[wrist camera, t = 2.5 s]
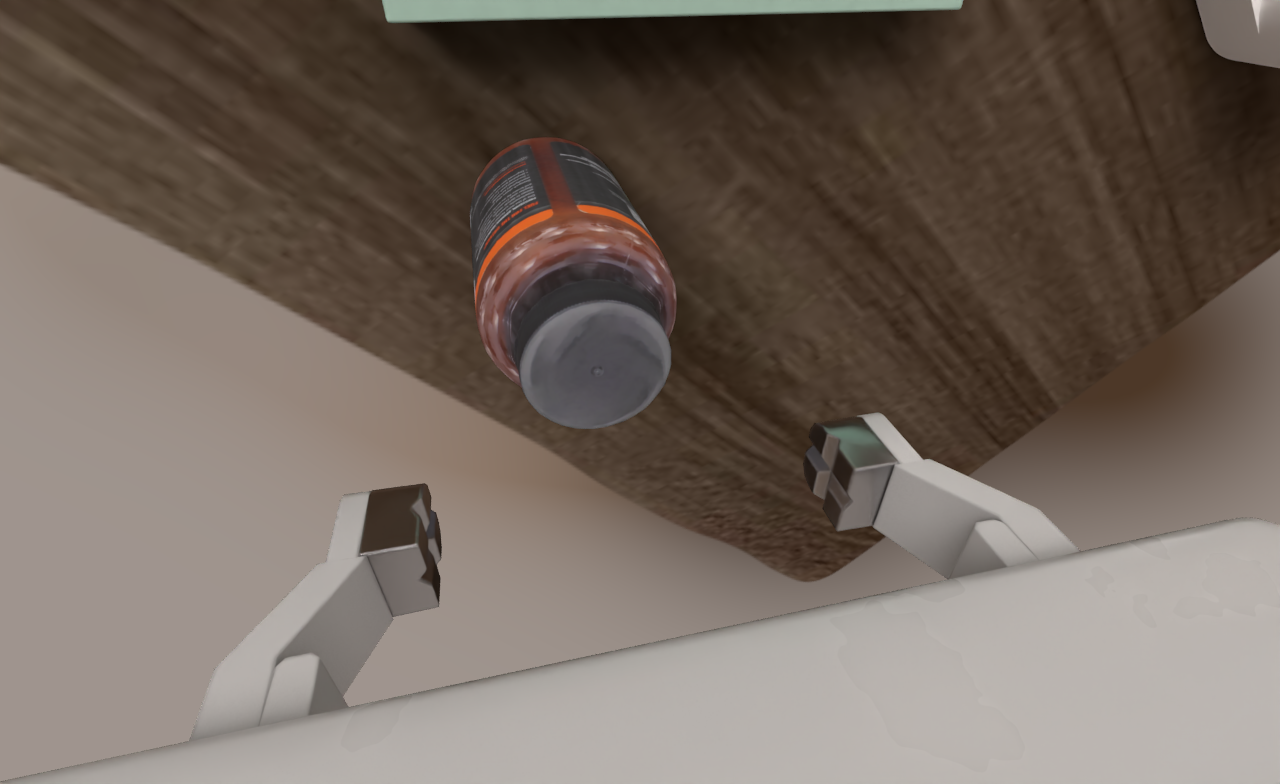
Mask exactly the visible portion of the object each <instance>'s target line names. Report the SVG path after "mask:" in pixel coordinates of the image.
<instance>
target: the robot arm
mask: <svg viewBox="0 0 1280 784" xmlns="http://www.w3.org/2000/svg"><path fill="white" fill-rule="evenodd" d="M809 438H810V440H811V441H812V443H813V445H812V446H811V447H810V448H809V449H808V450H807V451H806V452H805V457H804V463H803V466H804V474H805V478H806V481H807V483H808V485H809V487H810V489H811V491H812V492H813V494H815V495H817V496H819V497H820V498H822V499H824V504H823V510H824V511H825V513H826V515H827V516H828V518H829V519H830V521H831V523H832V524H833V526H834V527H835V529H836V530H837V531H842V530H848V529H855V528H861V527H867V526H873V525H874V526H873V528H875V529H876V530H878V531H879V532H880V533H882V534H883V535H885V536H886V537H888V538H889V539H891V540H892V541H893V542H895V543H896V544H898V545H899V546H901V547H902V548H904V549H905V550H906V551H908V552H909V553H911V554H912V555H914V556H915V557H916V558H918V559H919V560H921V561H923V562H924V563H925V564H927V565H928V566H929V567H931V568H932V569H934V570H935V571H937V572H938V573H939V574H941V575H942V576H944V577H945V578H947V579H948V580H944V581H939V582H934V583H930V584H925V585H920V586H915V587H911V588H906V589H901V590H897V591H892V592H887V593H882V594H878V595H873V596H869V597H864V598H859V599H854V600H850V601H845V602H841V603H836V604H831V605H826V606H822V607H817V608H813V609H808V610H803V611H798V612H794V613H789V614H784V615H780V616H775V617H771V618H765V619H761V620H756V621H752V622H747V623H742V624H737V625H733V626H728V627H723V628H718V629H714V630H709V631H704V632H700V633H695V634H691V635H686V636H681V637H676V638H671V639H667V640H662V641H658V642H653V643H648V644H643V645H638V646H634V647H629V648H624V649H620V650H615V651H610V652H605V653H601V654H596V655H591V656H587V657H583V658H578V659H573V660H568V661H563V662H559V663H554V664H549V665H544V666H540V667H535V668H530V669H526V670H522V671H516V672H512V673H507V674H503V675H497V676H493V677H488V678H483V679H479V680H474V681H469V682H465V683H460V684H455V685H450V686H446V687H441V688H436V689H432V690H427V691H423V692H418V693H413V694H408V695H404V696H399V697H394V698H389V699H385V700H380V701H375V702H371V703H366V704H361V705H357V706H352V707H348V705H347V704H346V702H345V700H344V698H343V696H344V694H345V692H346V691H347V690H348V688H349V686H350V685H351V683H352V682H353V680H354V679H355V677H356V676H357V674H358V673H359V671H360V670H361V668H362V667H363V665H364V664H365V662H366V660H367V659H368V657H369V656H370V654H371V653H372V651H373V650H374V648H375V647H376V645H377V644H378V642H379V640H380V639H381V637H382V636H383V635H384V633H385V632H386V630H387V628H388V627H389V625H390V624H391V622H392V621H393V617H395V616H399V615H404V614H408V613H413V612H418V611H422V610H427V609H431V608H436V607H439V596H440V575H439V572H438V569H437V563H438V562H439V561H440V560H441V548H442V546H441V534H440V528H439V522H438V518H437V515H436V512H434V511H432V510H431V495H430V492H429V489H428V486H427V485H426V484H417V485H409V486H401V487H394V488H386V489H379V490H372V491H369V492H361V493H352V494H345V495H344V496H343V497H342V499H341V500H340V504H339V508H338V512H337V516H336V520H335V524H334V529H333V533H332V537H331V542H330V546H329V551H328V555H327V559H326V563H321V564H317V565H316V566H315V567H314V568H313V569H312V570H311V571H310V572H309V573H308V574H307V575H306V576H305V577H304V578H303V579H302V580H301V581H300V582H299V583H298V584H297V585H296V586H295V587H294V588H293V589H292V591H291V592H290V593H289V594H288V595H287V596H286V597H285V598H284V599H283V600H282V601H281V602H280V603H279V604H278V605H277V606H276V607H275V608H274V609H273V610H272V611H271V612H270V613H269V614H268V615H267V616H266V617H265V618H264V619H263V620H262V621H261V622H260V623H259V624H258V625H257V626H256V627H255V628H254V629H253V630H252V631H251V633H249V634H248V635H247V636H246V637H245V639H244V640H242V642H241V643H240V644H239V645H238V646H237V647H236V648H235V649H234V650H233V651H232V652H231V653H230V654H229V655H228V656H227V657H226V658H225V659H224V660H223V661H222V662H221V663H220V664H219V665H218V666H217V667H216V668H215V669H214V672H213V675H212V677H211V680H210V684H209V686H208V689H207V692H206V695H205V698H204V700H203V703H202V706H201V709H200V712H199V714H198V718H197V720H196V723H195V726H194V729H193V732H192V734H191V737H190V740H189V741H188V742H183V743H178V744H174V745H169V746H164V747H160V748H155V749H150V750H146V751H141V752H136V753H131V754H127V755H122V756H117V757H113V758H109V759H103V760H99V761H95V762H90V763H85V764H80V765H76V766H71V767H66V768H61V769H57V770H52V771H47V772H43V773H38V774H34V775H29V776H24V777H19V778H15V779H10V780H5V781H1V782H0V784H1280V525H1278V524H1275V523H1272V522H1269V521H1265V520H1262V519H1258V518H1236V519H1230V520H1224V521H1220V522H1215V523H1210V524H1206V525H1201V526H1197V527H1192V528H1187V529H1183V530H1179V531H1174V532H1169V533H1164V534H1160V535H1155V536H1150V537H1146V538H1141V539H1136V540H1132V541H1127V542H1122V543H1118V544H1113V545H1109V546H1104V547H1099V548H1094V549H1090V550H1085V551H1080V550H1079V549H1078V548H1077V547H1076V546H1075V545H1074V544H1073V543H1072V542H1071V541H1070V540H1069V539H1068V538H1067V537H1066V536H1065V535H1064V534H1063V533H1062V532H1061V531H1060V530H1059V529H1058V528H1057V527H1056V526H1055V525H1054V524H1053V523H1052V522H1051V521H1050V520H1049V519H1048V518H1047V517H1046V516H1045V515H1044V514H1043V513H1042V512H1041V511H1040V510H1039V509H1038V508H1035V507H1033V506H1031V505H1029V504H1027V503H1024V502H1022V501H1020V500H1018V499H1016V498H1014V497H1011V496H1009V495H1007V494H1005V493H1003V492H1001V491H998V490H996V489H994V488H992V487H990V486H987V485H985V484H983V483H981V482H979V481H976V480H974V479H972V478H970V477H968V476H966V475H963V474H961V473H959V472H957V471H955V470H953V469H950V468H948V467H946V466H944V465H942V464H939V463H937V462H935V461H933V460H931V459H926V460H923V459H922V458H921V457H920V456H919V455H918V453H917V452H916V451H915V450H914V449H913V448H912V447H911V446H910V444H909V443H908V442H907V441H906V440H905V439H904V438H903V436H902V435H901V434H900V433H899V432H898V431H897V430H896V429H895V427H894V426H893V425H892V424H891V423H890V422H889V421H888V419H887V418H886V417H885V416H884V415H882V414H880V413H878V412H877V413H872V414H866V415H860V416H856V417H849V418H843V419H837V420H830V421H824V422H818V423H814V425H813V426H812V427H811V430H810V434H809Z"/></svg>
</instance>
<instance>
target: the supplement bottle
mask: <svg viewBox="0 0 1280 784" xmlns="http://www.w3.org/2000/svg"><path fill="white" fill-rule="evenodd" d="M470 223H471V241H472V262H473V278H474V292H475V306H476V319H477V324H478V329H479V332H480V336H481V339H482V342H483V344H484V347H485V349H486V351H487V353H488V354H489V356H490V358H491V359H492V361H493V362H494V363H495V364H496V366H497V367H498V368H499V369H500V370H501V371H502V372H503V373H504V374H505V375H506V376H507V377H508V378H509V379H511V380H512V381H513V382H515V383H516V384H518V385H519V386H521V387H522V390H523V392H524V394H525V396H526V398H527V399H528V401H529V403H530V404H531V405H532V406H533V407H534V408H535V409H536V410H537V411H538V412H539V413H540V414H541V415H543V416H544V417H546V418H547V419H549V420H551V421H553V422H555V423H558V424H560V425H562V426H567V427H571V428H579V429H595V428H601V427H607V426H611V425H614V424H617V423H620V422H623V421H625V420H627V419H629V418H631V417H633V416H635V415H636V414H638V413H639V412H641V411H642V410H644V409H645V408H646V407H647V406H648V405H649V404H650V403H651V402H652V401H653V400H654V398H655V397H656V396H657V395H658V393H659V392H660V390H661V388H662V387H663V386H664V385H665V382H666V379H667V377H668V374H669V371H670V367H671V347H670V343H669V340H668V339H669V337H670V334H671V332H672V330H673V326H674V323H675V317H676V304H677V297H676V288H675V283H674V279H673V276H672V273H671V271H670V269H669V266H668V264H667V262H666V260H665V258H664V256H663V254H662V253H661V251H660V249H659V248H658V246H657V244H656V242H655V240H654V239H653V238H652V236H651V234H650V233H649V231H648V230H647V228H646V226H645V225H644V223H643V222H642V220H641V219H640V217H639V215H638V214H637V212H636V210H635V209H634V207H633V206H632V204H631V203H630V201H629V199H628V198H627V196H626V195H625V193H624V191H623V190H622V188H621V187H620V185H619V184H618V182H617V180H616V179H615V177H614V176H613V174H612V173H611V171H610V170H609V169H608V168H607V167H606V165H605V164H604V163H603V162H602V161H601V160H600V159H599V158H598V157H597V156H596V155H594V154H593V153H592V152H590V151H589V150H588V149H586V148H585V147H582V146H581V145H579V144H577V143H575V142H572V141H569V140H565V139H560V138H555V137H538V138H531V139H526V140H522V141H519V142H516V143H514V144H512V145H510V146H509V147H507V148H505V149H504V150H502V151H501V152H500V153H498V154H497V155H496V156H495V157H494V158H493V159H492V160H491V161H490V162H489V163H488V164H487V165H486V167H485V168H484V170H483V171H482V173H481V174H480V176H479V178H478V179H477V181H476V184H475V187H474V191H473V194H472V202H471V207H470Z"/></svg>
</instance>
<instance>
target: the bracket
mask: <svg viewBox="0 0 1280 784" xmlns="http://www.w3.org/2000/svg"><path fill="white" fill-rule="evenodd" d="M1196 3H1197V6H1198V10H1199V13H1200V17H1201V21H1202V24H1203V28H1204V31H1205V35H1206V39H1207V41H1208V43H1209V45H1210V46H1211V47H1212V49H1213V50H1214V51H1215V52H1216V53H1217V54H1219V55H1220V56H1222V57H1224V58H1226V59H1230V60H1234V61H1240V62H1246V63H1252V64H1258V65H1264V66H1270V67H1275V68H1280V0H1196Z"/></svg>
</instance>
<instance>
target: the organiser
mask: <svg viewBox="0 0 1280 784" xmlns="http://www.w3.org/2000/svg"><path fill="white" fill-rule="evenodd" d="M382 2H383V7H384V11H385V16H386V20H387V22H389V23H418V22H461V21H503V20H545V19H587V18H629V17H672V16H714V15H756V14H798V13H841V12H883V11H925V10H958V9H960V8H961V7H962V3H963V0H382Z"/></svg>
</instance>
